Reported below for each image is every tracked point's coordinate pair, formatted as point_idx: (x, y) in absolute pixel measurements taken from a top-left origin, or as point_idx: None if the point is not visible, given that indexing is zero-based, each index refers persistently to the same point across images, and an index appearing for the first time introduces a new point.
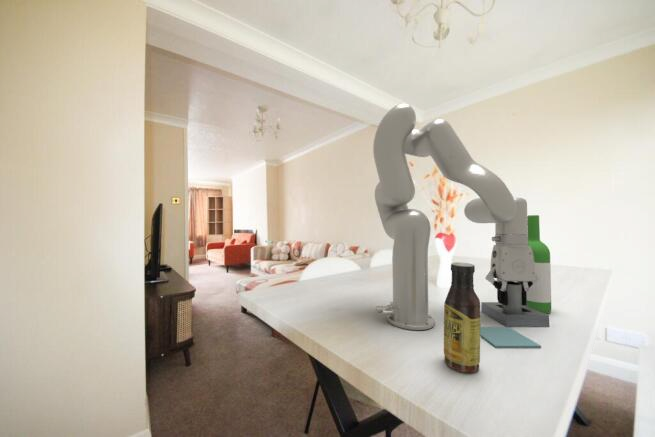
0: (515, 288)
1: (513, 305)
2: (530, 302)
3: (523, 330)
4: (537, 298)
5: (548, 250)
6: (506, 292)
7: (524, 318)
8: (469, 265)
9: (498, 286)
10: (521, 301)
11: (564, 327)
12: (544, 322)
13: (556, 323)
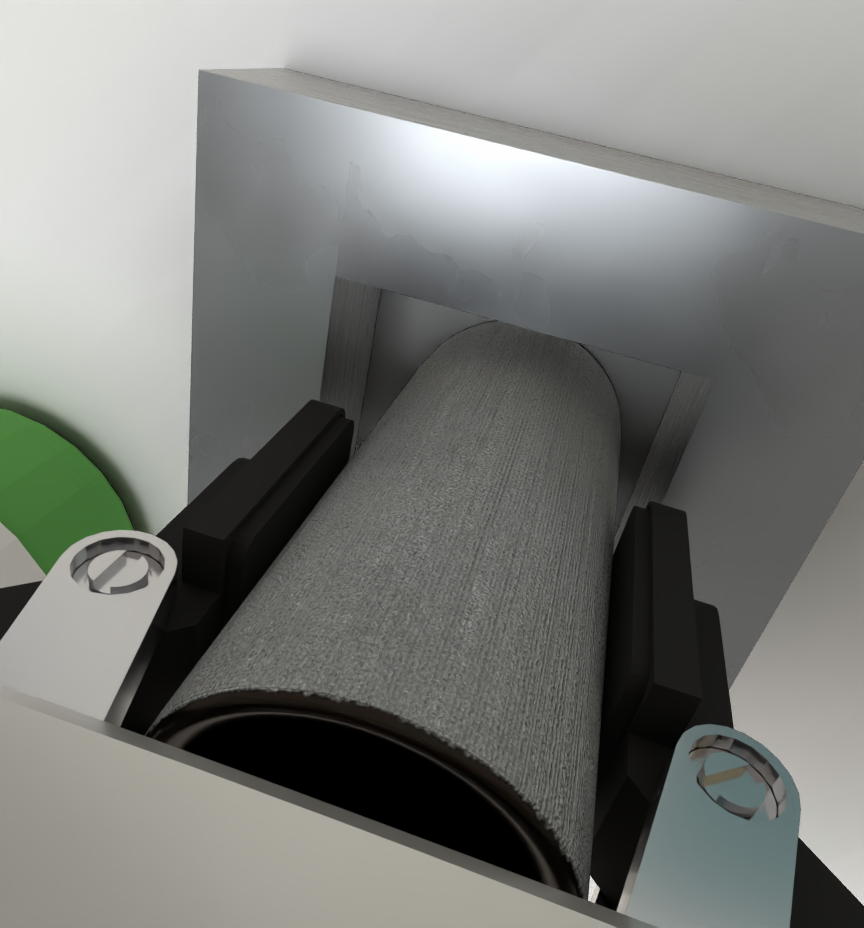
0: (471, 649)
1: (567, 446)
2: (48, 551)
3: (801, 34)
4: None
5: None
6: (674, 670)
7: (630, 167)
8: None
9: (825, 906)
10: (382, 447)
11: (103, 6)
12: (325, 84)
13: (97, 151)
